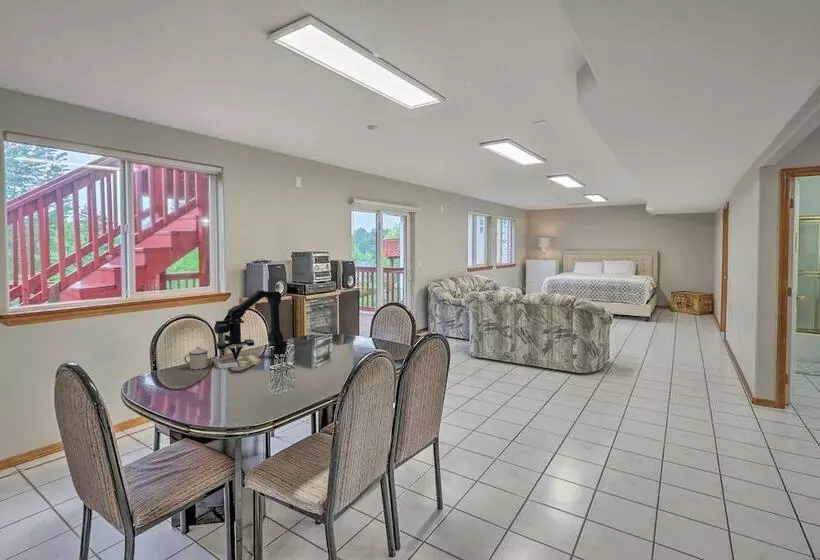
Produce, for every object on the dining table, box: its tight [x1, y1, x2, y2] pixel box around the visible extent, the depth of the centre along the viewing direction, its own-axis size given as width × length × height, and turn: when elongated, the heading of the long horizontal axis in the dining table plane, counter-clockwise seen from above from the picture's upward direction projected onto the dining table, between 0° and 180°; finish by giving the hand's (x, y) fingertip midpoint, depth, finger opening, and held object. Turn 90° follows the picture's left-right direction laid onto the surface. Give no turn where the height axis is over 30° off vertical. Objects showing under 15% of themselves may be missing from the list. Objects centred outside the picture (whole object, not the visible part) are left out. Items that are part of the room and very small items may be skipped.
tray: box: [212, 356, 239, 370], centre depth 240 cm, size 10×16×2 cm, turn 34°
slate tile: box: [224, 358, 236, 364], centre depth 238 cm, size 5×5×2 cm
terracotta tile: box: [221, 355, 234, 364], centre depth 243 cm, size 5×5×2 cm
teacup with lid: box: [183, 345, 209, 371], centre depth 233 cm, size 12×9×12 cm
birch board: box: [232, 354, 263, 367], centre depth 246 cm, size 12×16×2 cm
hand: (235, 359), depth 239 cm, fingers closed
